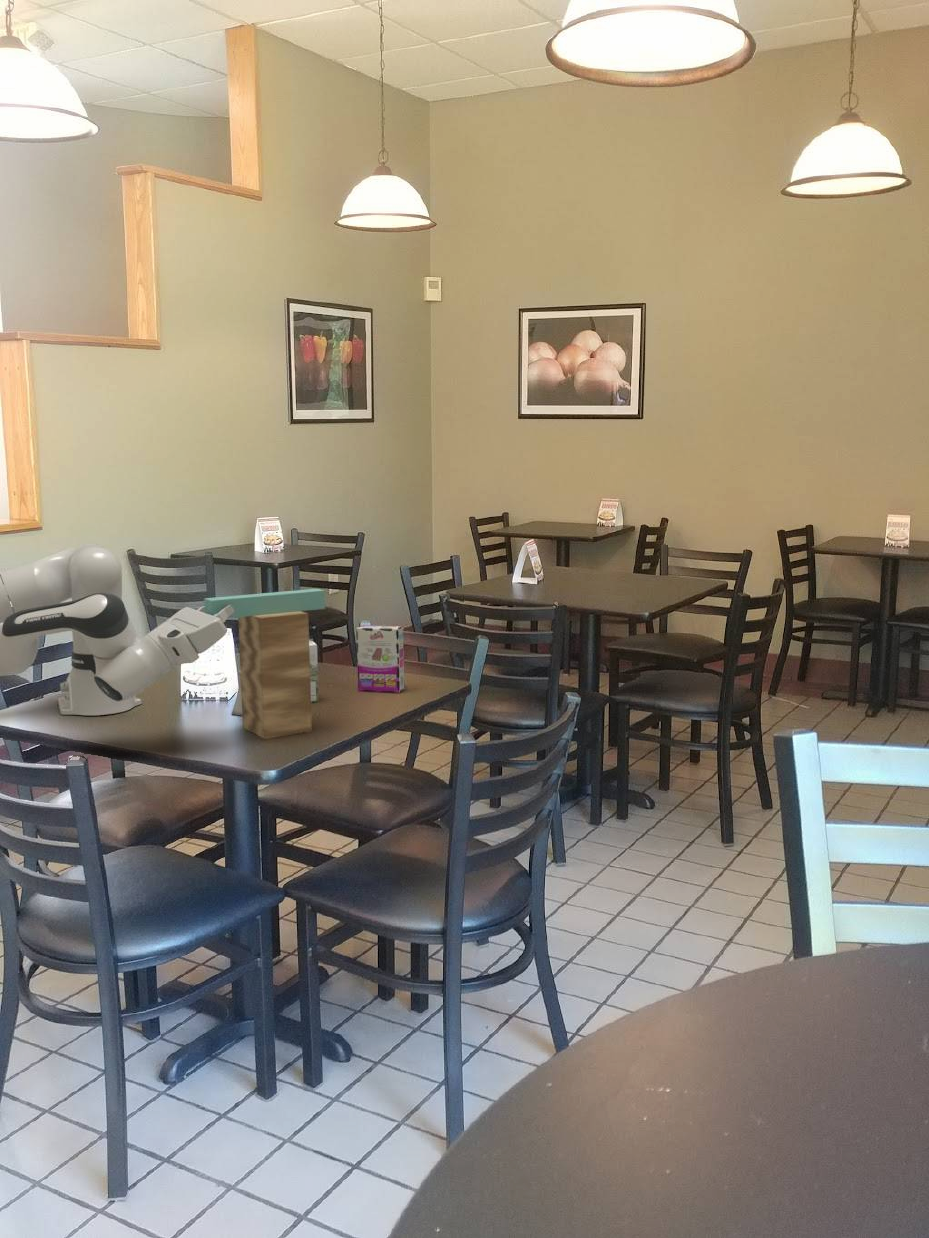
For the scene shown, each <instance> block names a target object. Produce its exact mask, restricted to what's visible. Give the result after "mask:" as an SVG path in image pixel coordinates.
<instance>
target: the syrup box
mask: <svg viewBox="0 0 929 1238" xmlns="http://www.w3.org/2000/svg"><path fill="white" fill-rule="evenodd" d="M309 653H310V687H311V703H315V702H319V680H318V678H319V673H318V667H319V665H318V645H317V643H316V642H314V641H312V640H309Z"/></svg>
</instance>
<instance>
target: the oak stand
mask: <svg viewBox="0 0 929 1238" xmlns="http://www.w3.org/2000/svg"><path fill="white" fill-rule="evenodd" d="M237 618H238V640H239V643H238V644H239V663H240V664H239V666H240V668H239V670H240V669H241V694H242V715H241V716H242V718H241V719H242V728H244V729H245V730H247V731H248V732H251V733H253V734H255V735H256V736H258V737H260V738H262V739H265V740H267V739H274V738H279V737H287V736H292V735H298V733H299V734H304V733H303V732H305V733H311V732H313V729H312V728H313V725H312V702H311V687H310V653H309V641H310V630H309V629H310V627H309V624H310V623H309V613H308V612H306V611H296V612H286V613H276V614H266V615H256V616H246V617H237Z"/></svg>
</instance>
